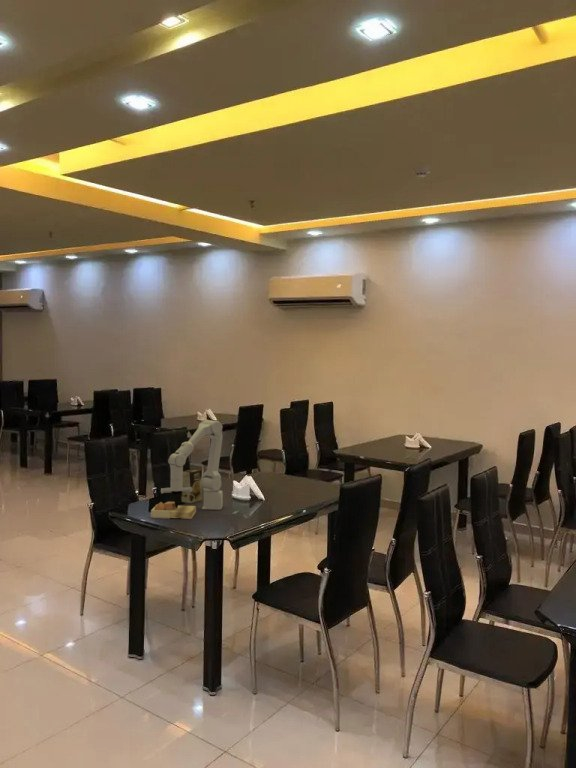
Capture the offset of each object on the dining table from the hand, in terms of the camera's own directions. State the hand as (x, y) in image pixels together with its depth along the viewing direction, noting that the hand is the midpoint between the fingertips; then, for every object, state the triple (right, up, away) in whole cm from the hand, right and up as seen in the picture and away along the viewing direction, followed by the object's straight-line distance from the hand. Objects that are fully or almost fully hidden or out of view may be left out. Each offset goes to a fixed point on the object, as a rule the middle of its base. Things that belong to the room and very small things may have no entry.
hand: (176, 507), depth 295 cm
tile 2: (-3, -1, +2) cm, 4 cm away
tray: (-6, -4, 0) cm, 7 cm away
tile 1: (-7, 0, +1) cm, 7 cm away
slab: (+3, -4, 0) cm, 5 cm away
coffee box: (+3, -3, +30) cm, 30 cm away
